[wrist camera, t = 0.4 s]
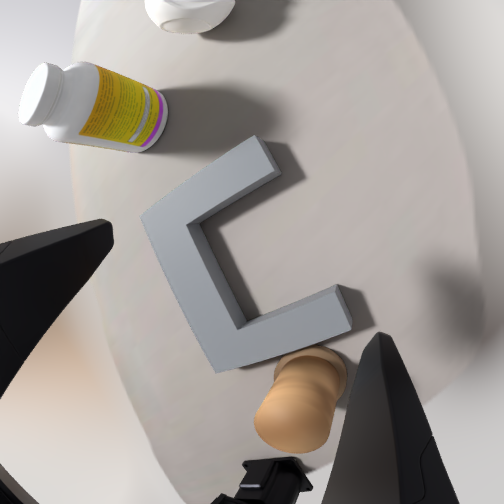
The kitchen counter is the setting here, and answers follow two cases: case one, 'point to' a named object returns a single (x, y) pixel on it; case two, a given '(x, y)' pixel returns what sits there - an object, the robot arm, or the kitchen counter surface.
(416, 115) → the kitchen counter surface
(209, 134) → the kitchen counter surface
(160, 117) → the supplement bottle
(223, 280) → the notched board
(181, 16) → the white rounded piece
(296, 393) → the wooden drawer knob
